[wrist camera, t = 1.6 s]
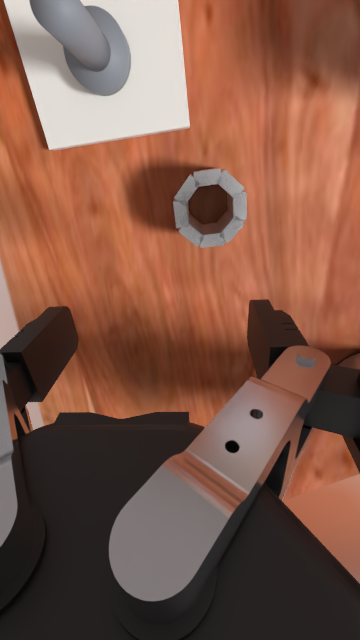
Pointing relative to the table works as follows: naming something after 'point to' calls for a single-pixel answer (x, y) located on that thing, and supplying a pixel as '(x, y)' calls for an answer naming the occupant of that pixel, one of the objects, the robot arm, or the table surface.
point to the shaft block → (102, 67)
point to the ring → (230, 219)
